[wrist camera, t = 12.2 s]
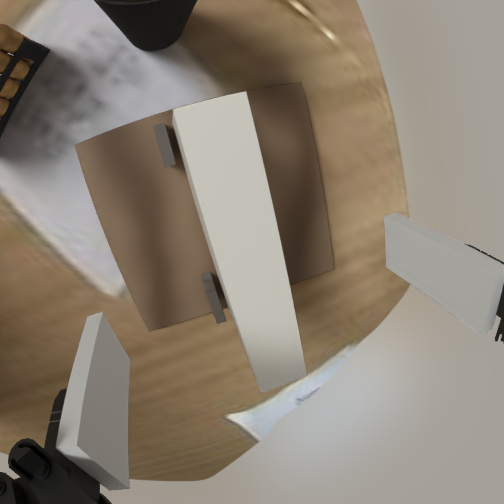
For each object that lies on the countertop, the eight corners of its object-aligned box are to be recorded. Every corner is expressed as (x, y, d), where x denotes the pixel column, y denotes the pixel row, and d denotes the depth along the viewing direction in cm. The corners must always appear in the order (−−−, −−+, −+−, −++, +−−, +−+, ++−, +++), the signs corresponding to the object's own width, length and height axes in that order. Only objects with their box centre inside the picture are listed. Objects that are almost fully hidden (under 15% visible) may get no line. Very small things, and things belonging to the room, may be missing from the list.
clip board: (149, 323, 29) (148, 355, 24) (79, 144, 21) (60, 147, 17) (327, 263, 32) (351, 284, 27) (294, 84, 24) (319, 75, 20)
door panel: (225, 298, 28) (261, 393, 17) (172, 122, 22) (173, 109, 11) (256, 288, 29) (306, 375, 18) (209, 112, 22) (246, 91, 11)
